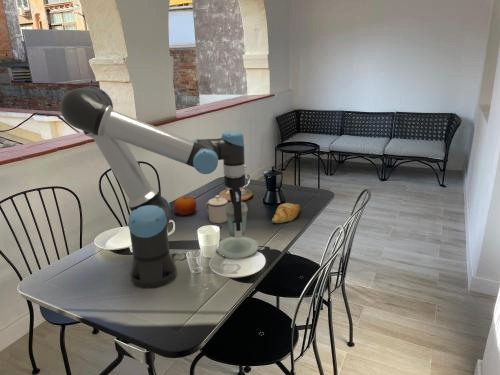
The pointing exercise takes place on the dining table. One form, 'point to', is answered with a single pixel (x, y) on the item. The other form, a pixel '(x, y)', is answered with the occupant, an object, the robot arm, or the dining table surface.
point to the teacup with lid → (217, 209)
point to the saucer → (237, 247)
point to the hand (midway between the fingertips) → (237, 232)
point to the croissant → (286, 212)
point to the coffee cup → (230, 217)
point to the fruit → (185, 205)
